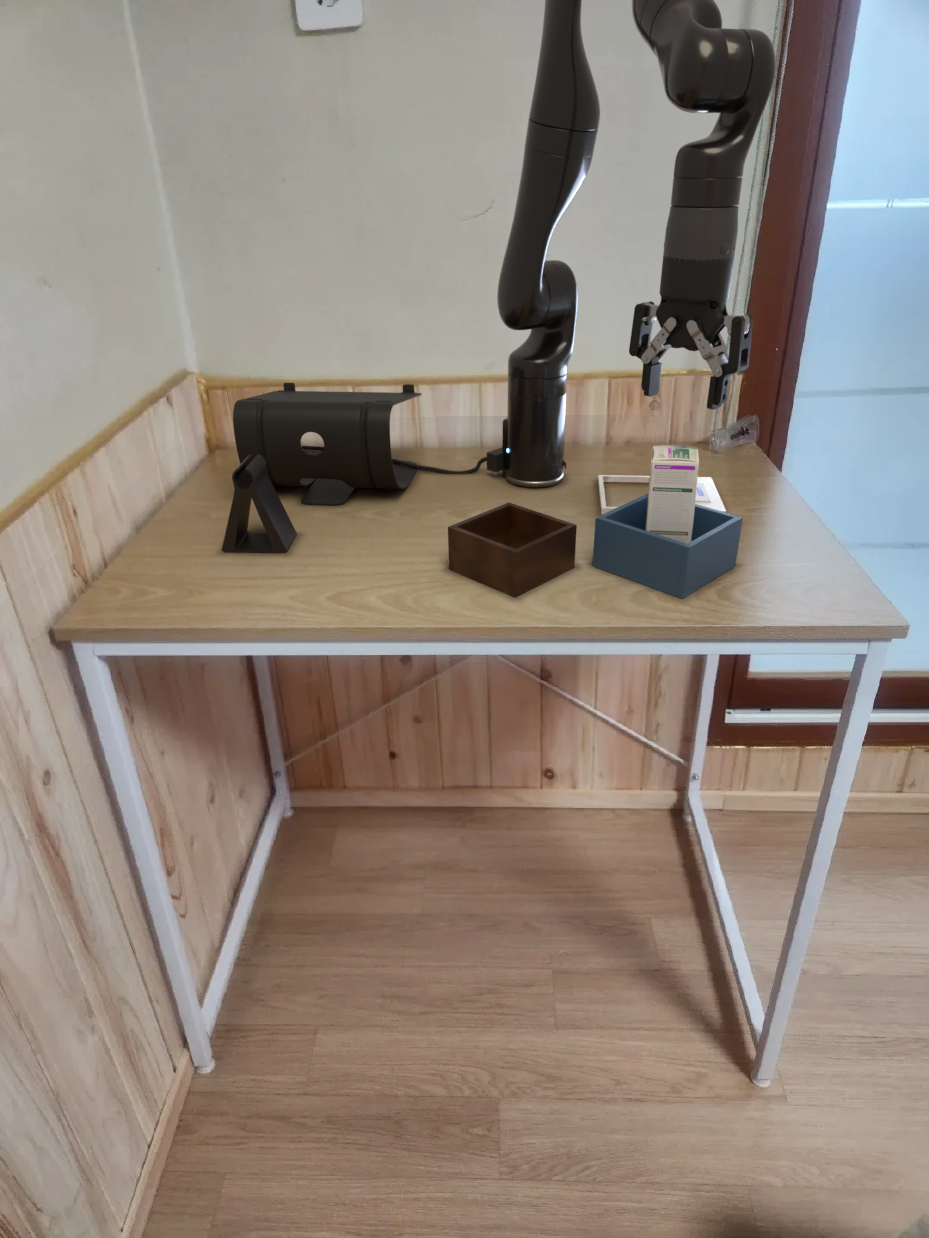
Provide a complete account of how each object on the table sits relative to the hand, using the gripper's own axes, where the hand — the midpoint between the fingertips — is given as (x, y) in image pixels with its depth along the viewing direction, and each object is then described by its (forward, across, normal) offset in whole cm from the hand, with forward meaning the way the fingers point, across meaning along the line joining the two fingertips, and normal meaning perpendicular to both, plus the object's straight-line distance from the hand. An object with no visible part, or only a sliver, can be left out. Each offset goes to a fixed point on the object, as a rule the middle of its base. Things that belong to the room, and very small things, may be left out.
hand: (681, 401), depth 99 cm
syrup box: (+21, 0, 0) cm, 21 cm away
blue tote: (+22, 0, 0) cm, 22 cm away
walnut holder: (+22, +14, +14) cm, 29 cm away
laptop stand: (+22, +57, +9) cm, 62 cm away
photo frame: (+22, +14, -20) cm, 33 cm away
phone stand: (+22, +45, +32) cm, 59 cm away
